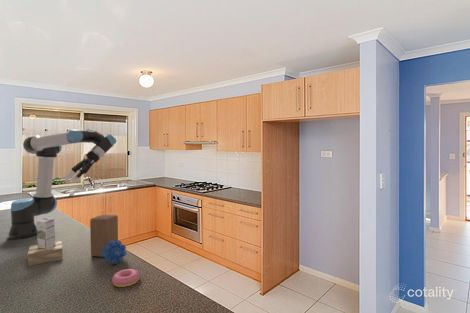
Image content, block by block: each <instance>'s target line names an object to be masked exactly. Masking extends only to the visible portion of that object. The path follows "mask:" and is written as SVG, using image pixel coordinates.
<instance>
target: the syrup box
mask: <svg viewBox="0 0 470 313" xmlns="http://www.w3.org/2000/svg"><path fill="white" fill-rule="evenodd" d="M55 224H56V223H55V218H51V217H44V218H41V219H40V218H39V219H38V220H36V221H35V225H36V228H37V234H36V240H37V241H36V242H37V244H36V245H38V248H40V249H48V248H51V247H53V246H55V245H56V227H55Z"/></svg>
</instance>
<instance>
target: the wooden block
mask: <svg viewBox="0 0 470 313" xmlns="http://www.w3.org/2000/svg"><path fill="white" fill-rule="evenodd" d="M118 218H119V216H118V215H115V214H100V215H97V216H95V217H93V218H90V219H89V220H90V222H89V225H90V228H89V229H90V232H89V234H90V256H92V257H99V258H100V257H101V258H104V257H103V256H102V252H103V251H105V250H104V248H103V247H104V245H106V244H107V245H109V242H110V241H115V242H116V241H119V219H118Z"/></svg>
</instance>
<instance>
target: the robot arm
mask: <svg viewBox="0 0 470 313" xmlns="http://www.w3.org/2000/svg"><path fill="white" fill-rule="evenodd" d="M79 143H87V144H88V143H91V144H94V146H93V147H92V148H91V149H90V150H89V151H88V152H87V153H86V154H85V156H86V158H83V159H82V160H81V161H79V162H78V163H76V164H75V165H74V166H73V167H72V168H71V170H69V172H68V173H67V174H66V175H65V176H63V180H65V181H66V182H68V181H69V180H70V181H71V182H72V183H74V184H75V183H76V182H77V181H78V180H80V178H81V177H82V176H84V174H87V173H89V172H88V171H89V170H90V169H91V168H92V167H93V165H94V164H95V163H98V161H100V159H101V158H103V157H104V156H105V155H106V153H107V152H108V151H110V150H111V148H113V147H114V145H115V144H116V143H117V140H116V138H115V137H114V136H113V135H112V134H111V133H107V134H106V135H104V134H102V133H101V132H98V131H97V130H95V129H92V128H88V129H85V130H84V129H69V130H68V131H65V132H60V133H54V134H53V133H52V134H49V135H43V136H39V135H35V136H29V137H26V138H25V139H24V140H23V143H22V146H23V149H24V151H26V152H27V153H29V154H31V155H36V157H37V158H38V162H37V163H38V164H37V165H38V166H37V177H36V190H35V193H33V195H32V197H25V198H18V199H16V200H13V201H12V202H11V204H10V215H11V217H10V219H11V225H10V228H9V231H8V233H7V238H8V239H10V240H19V239H26V238H30V237H34V236H37V228H36V221H35V217H39V216H43V215H47V214H49V213H52V212H53V211H54V210H56V208H57V206H58V200H57V199H56V197H55V196H54V193H52V188H53V187H52V186H53V177H54V176H53V173H54V161H55V159H56V158H57V157H58V154H60V152H61V151H62V146H66V145H72V144H79Z"/></svg>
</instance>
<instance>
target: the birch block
mask: <svg viewBox="0 0 470 313" xmlns="http://www.w3.org/2000/svg"><path fill="white" fill-rule="evenodd" d="M55 242H56V245H55V246H53V247H51V248H48V249H40V248H38V245H37V244H33V245H29V247H28V248H29V249H28V251H27V266H28V267H29V266H35V265H39V264H45V262H46V263H50V262H54V261H56V262H57V261H60V260H63V259H64V258H63V241H62V240H57V241H56V240H55Z"/></svg>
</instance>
